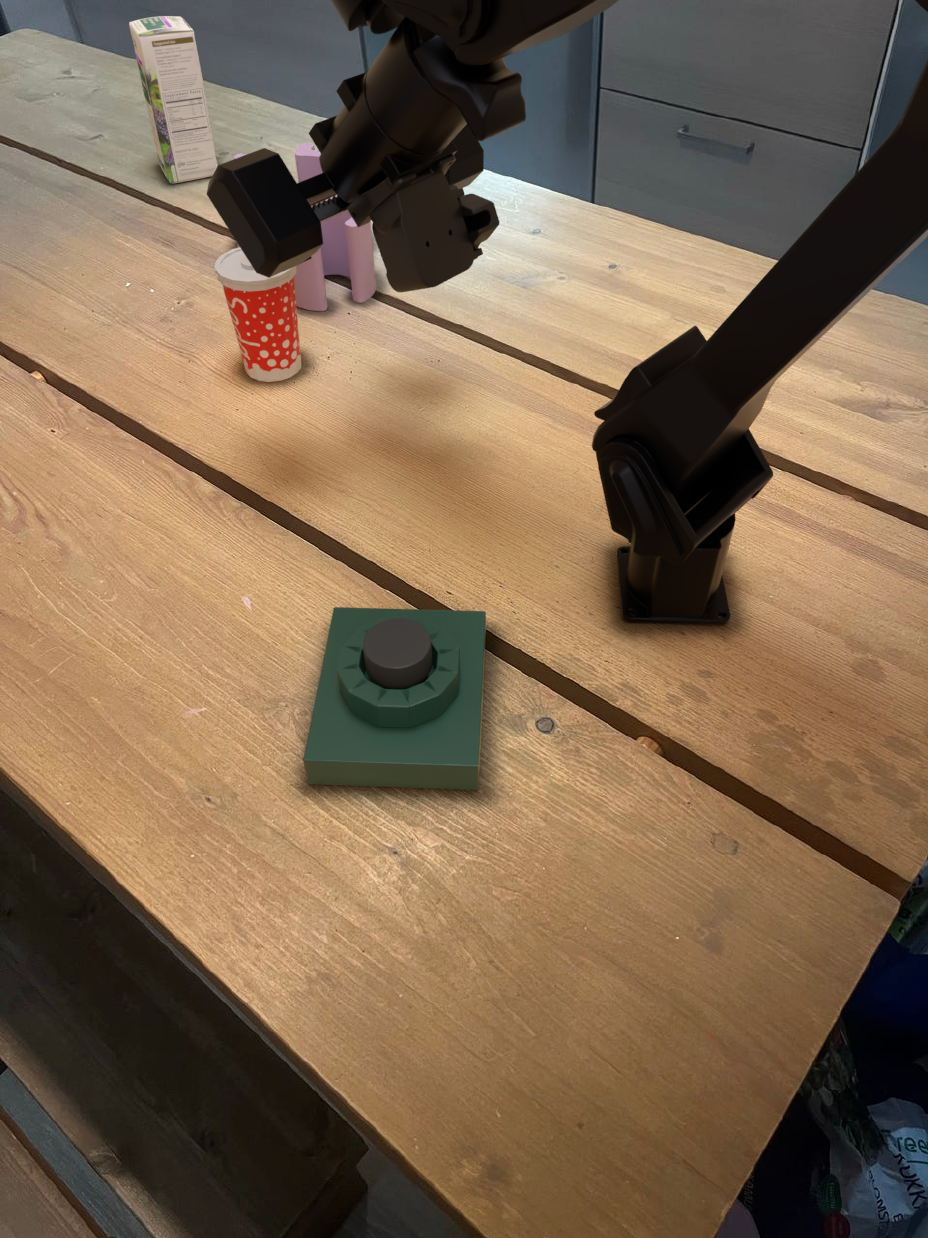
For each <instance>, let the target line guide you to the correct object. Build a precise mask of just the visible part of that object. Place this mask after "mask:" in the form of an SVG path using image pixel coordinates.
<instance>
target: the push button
mask: <svg viewBox="0 0 928 1238" xmlns="http://www.w3.org/2000/svg"><path fill="white" fill-rule="evenodd" d="M363 651H364V659H365V666H366V671H367V673H368V675H369V677H370V678H371V679H372V680H373V681H374V682H375V683H377V684H378V685H380V686H382V687H385V688H389V689H405V688H409V687H412V686H415V685H417V684H419V683H420V682H422V681H423V680H424V679H425V678H426V677H427V676H428V674H429V672H430V671H431V668H432V645H431V637H430V635H429V633H428V631H427V630H426V629H425V628H424V627H423V626H422V625H421V624H419V623H417V622H415V621H413V620H409V619H403V618H395V619H389V620H385V621H382V622H380V623H378V624H376V625H375V626H374V627H372V628H371V629H370V630H369V631H368V633H367V634H366V636H365V638H364V641H363Z"/></svg>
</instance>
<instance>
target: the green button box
mask: <svg viewBox="0 0 928 1238" xmlns="http://www.w3.org/2000/svg"><path fill="white" fill-rule="evenodd" d="M332 610H333V611H332V615H331V620H330V623H329V624H330V625H329V629H328V635H327V639H326V644H325V650H324V653H323V654H324V655H323V658H322V659H323V660H322V665H321V669H320V674H319V680H318V685H317V689H316V695H315V699H314V704H313V708H312V714H311V719H310V724H309V729H308V735H307V739H306V743H305V749H304V753H303V754H304V755H303V759H302V761H303V765H304V770H305V774H306V778H307V783H308V785H322V786H323V785H324V786H347V787H348V786H350V787H377V788H406V789H407V788H409V789H410V788H412V789H432V790H433V789H434V790H435V789H437V790H441V789H442V790H463V791H464V790H465V791H479V790H480V769H481V768H480V767H481V746H482V726H483V724H482V723H483V705H484V704H483V703H484V682H485V681H484V680H485V662H486V661H485V659H486V639H487V638H486V637H487V613H486V611H485V610H458V609H457V610H456V609H455V610H453V609H420V608H418V609H413V608H381V607H380V608H379V607H376V608H375V607H345V606H344V607H342V606H340V607H339V606H334V607H333V609H332ZM395 618H403V619H409V620H413V621H415V622H417V623H419V624H421V625H422V626H423V627H424V628H425V629H426V630H427V631H428V633H429V635H430V637H431V645H432V668H431V671H430V672H429V674H428V676H427V677H426V678H425V679H424V680H423V681H422V682H420V683H419V684H417V685H415V686H412V687H409V688H405V689H389V688H385V687H382V686H380V685H378V684H377V683H375V682H374V681H373V680H372V679H371V678H370V677H369V675H368V673H367V671H366V666H365V659H364V651H363V641H364V638H365V636H366V634H367V633H368V631H369V630H370V629H371V628H372V627H374V626H375V625H376V624H378V623H380V622H382V621H385V620H389V619H395Z"/></svg>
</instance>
